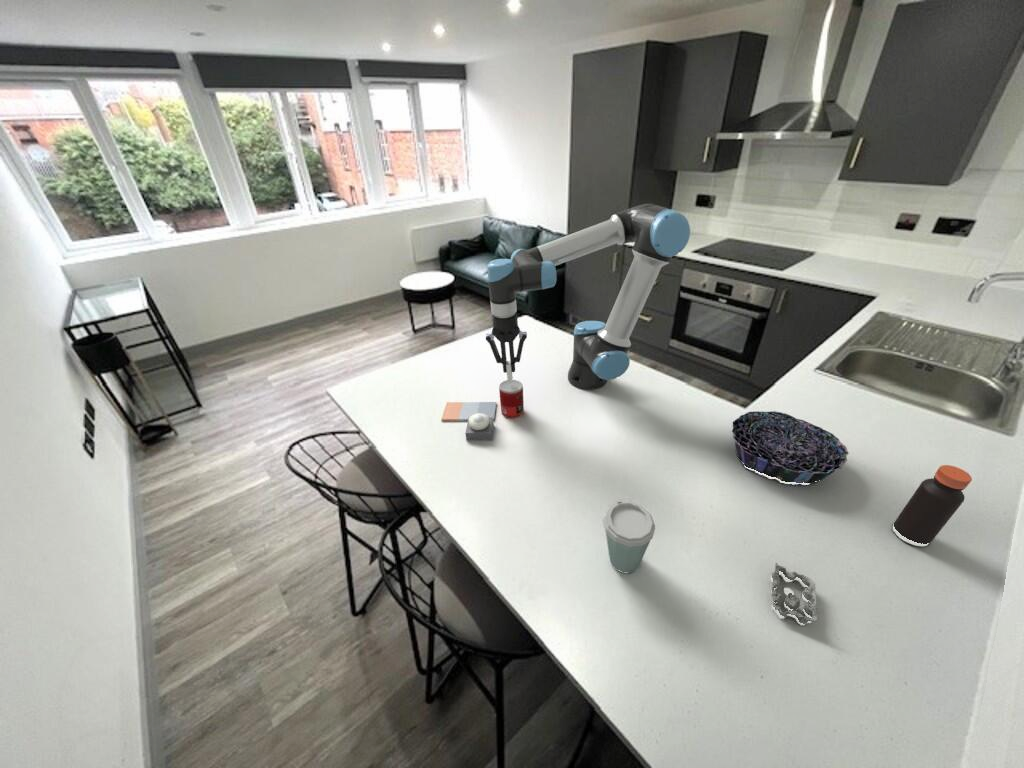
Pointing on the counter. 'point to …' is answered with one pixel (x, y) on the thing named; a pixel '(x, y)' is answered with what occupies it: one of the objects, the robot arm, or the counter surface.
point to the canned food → (511, 398)
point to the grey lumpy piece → (792, 600)
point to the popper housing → (480, 432)
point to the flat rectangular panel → (467, 410)
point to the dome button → (479, 421)
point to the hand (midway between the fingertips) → (510, 379)
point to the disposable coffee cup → (627, 534)
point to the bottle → (933, 504)
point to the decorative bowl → (787, 447)
